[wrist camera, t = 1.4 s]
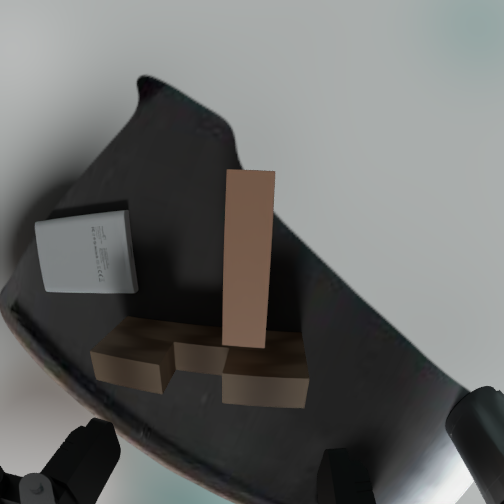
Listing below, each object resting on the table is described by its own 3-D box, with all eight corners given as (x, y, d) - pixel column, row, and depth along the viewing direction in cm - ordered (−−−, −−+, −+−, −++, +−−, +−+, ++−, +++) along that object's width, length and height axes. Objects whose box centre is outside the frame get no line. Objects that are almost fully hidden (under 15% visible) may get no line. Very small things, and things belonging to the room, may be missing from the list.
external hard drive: (42, 220, 29) (130, 209, 28) (53, 288, 31) (140, 289, 30) (34, 222, 28) (123, 210, 27) (45, 292, 29) (133, 294, 28)
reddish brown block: (274, 176, 26) (275, 171, 19) (267, 306, 29) (264, 348, 21) (240, 175, 27) (226, 169, 19) (235, 304, 29) (222, 344, 21)
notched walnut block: (301, 332, 29) (309, 378, 21) (298, 358, 30) (303, 407, 22) (127, 316, 30) (90, 351, 22) (130, 340, 31) (96, 379, 23)
